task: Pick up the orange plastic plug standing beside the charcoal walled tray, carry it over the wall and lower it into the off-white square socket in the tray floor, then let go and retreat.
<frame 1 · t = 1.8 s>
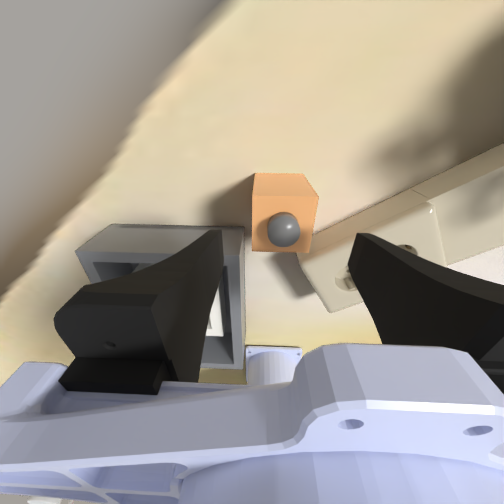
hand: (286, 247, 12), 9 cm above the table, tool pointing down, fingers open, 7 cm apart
electrical outlet: (393, 228, 21), on the table
bay: (189, 287, 25), on the table
plug: (277, 196, 19), on the table
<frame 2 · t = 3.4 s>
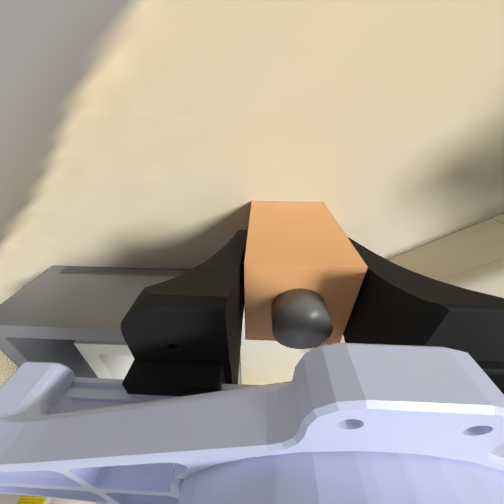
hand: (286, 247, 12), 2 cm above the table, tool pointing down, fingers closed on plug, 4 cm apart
electrical outlet: (453, 269, 15), on the table
supplement bottle: (70, 453, 40), on the table
bay: (167, 339, 19), on the table
plug: (284, 233, 13), on the table, touching gripper
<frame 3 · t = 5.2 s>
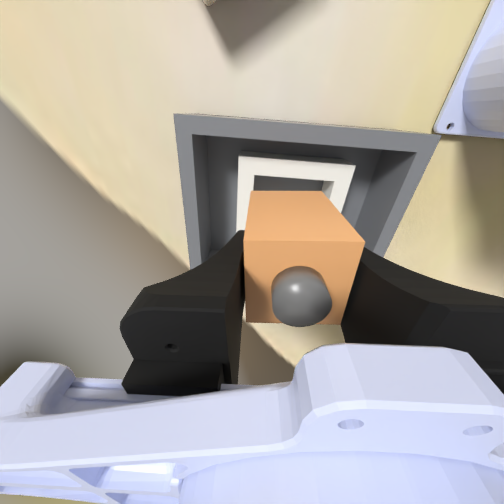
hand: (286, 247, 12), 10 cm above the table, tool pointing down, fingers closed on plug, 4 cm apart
bay: (284, 201, 20), on the table
plug: (283, 223, 13), point 8 cm above the table, touching gripper
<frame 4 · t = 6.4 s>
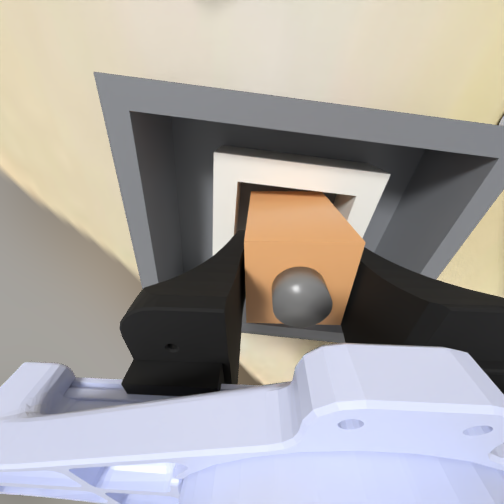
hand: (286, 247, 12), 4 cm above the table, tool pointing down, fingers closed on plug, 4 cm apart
bay: (281, 216, 15), on the table
plug: (283, 223, 13), point 2 cm above the table, touching gripper
when the fingers open (4 cm above the table, at t = 7.3 s): plug stays where it is, resting on bay.
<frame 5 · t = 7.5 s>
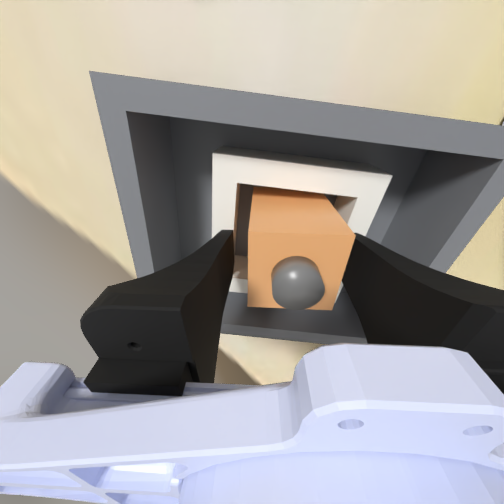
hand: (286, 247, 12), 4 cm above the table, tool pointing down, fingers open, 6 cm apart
bay: (281, 218, 15), on the table
plug: (283, 217, 14), point 1 cm above the table, touching bay
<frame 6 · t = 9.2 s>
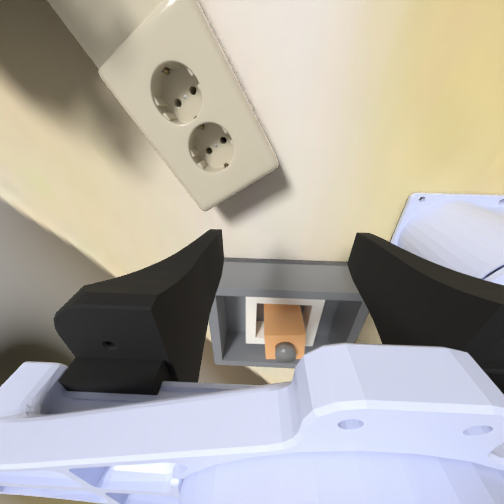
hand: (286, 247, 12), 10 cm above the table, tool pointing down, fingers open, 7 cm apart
electrical outlet: (178, 73, 16), on the table
bay: (280, 301, 28), on the table
plug: (280, 303, 27), point 1 cm above the table, touching bay
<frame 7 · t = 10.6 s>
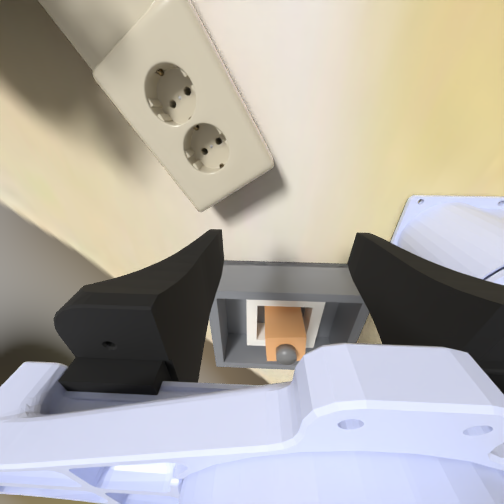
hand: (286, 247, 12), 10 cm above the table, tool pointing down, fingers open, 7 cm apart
electrical outlet: (173, 74, 16), on the table
bay: (280, 303, 28), on the table
plug: (281, 305, 27), point 1 cm above the table, touching bay
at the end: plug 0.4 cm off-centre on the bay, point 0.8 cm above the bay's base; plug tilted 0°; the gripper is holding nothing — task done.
